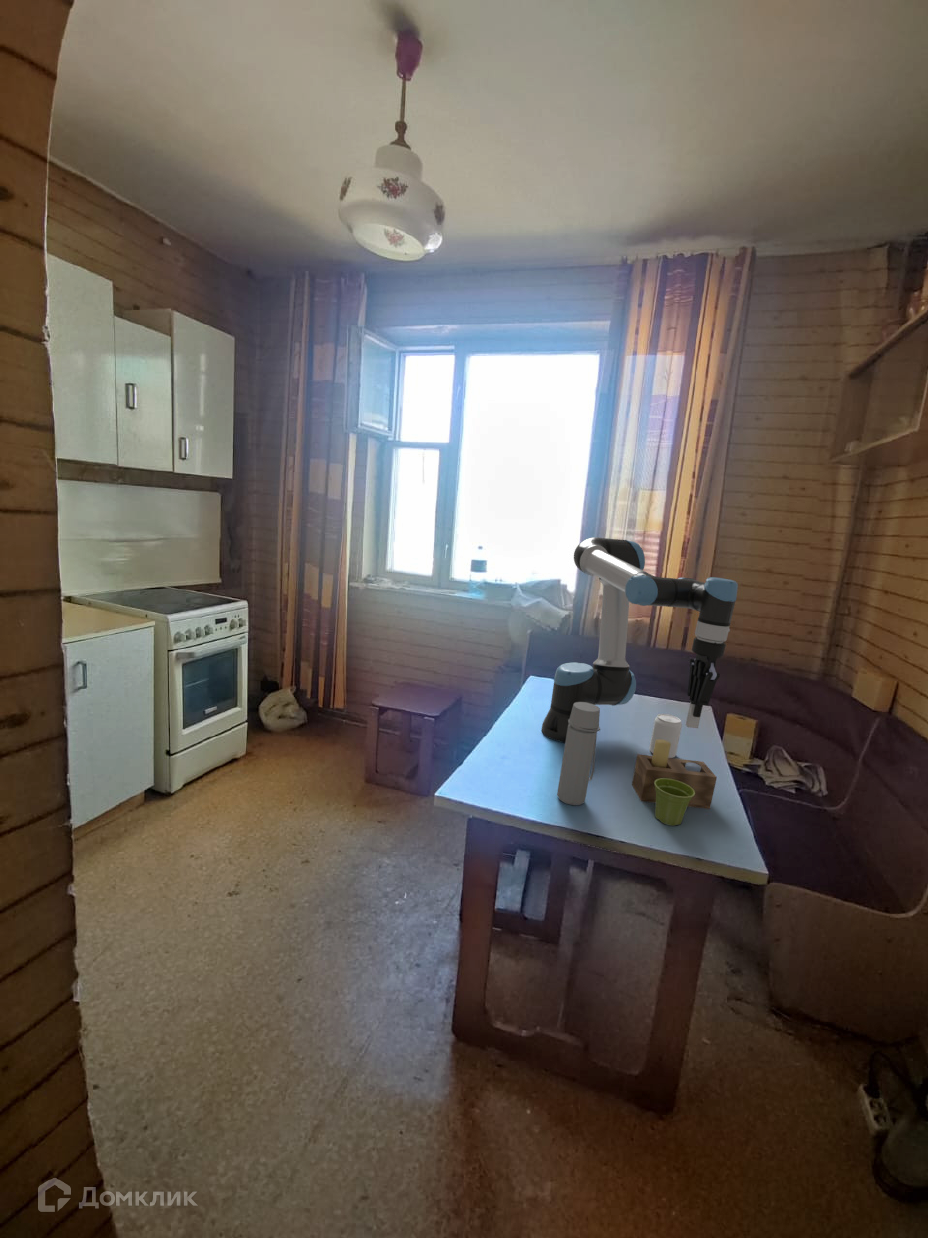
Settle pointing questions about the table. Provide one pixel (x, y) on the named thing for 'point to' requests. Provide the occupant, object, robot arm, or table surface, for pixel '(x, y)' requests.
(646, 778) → the walnut block
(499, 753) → the table surface
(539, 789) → the table surface
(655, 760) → the ochre peg
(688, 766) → the blue peg
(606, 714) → the table surface
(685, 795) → the plant pot
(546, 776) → the table surface
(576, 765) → the water bottle
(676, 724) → the beverage can
